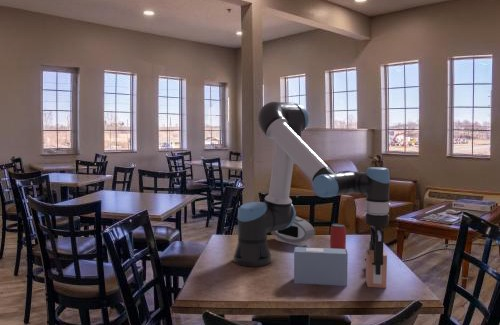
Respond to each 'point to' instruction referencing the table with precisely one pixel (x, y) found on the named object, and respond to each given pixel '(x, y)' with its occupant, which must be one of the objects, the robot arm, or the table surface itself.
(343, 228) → the beer can
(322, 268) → the gray rectangular box
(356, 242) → the table surface
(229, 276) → the table surface
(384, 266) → the stub
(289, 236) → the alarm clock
